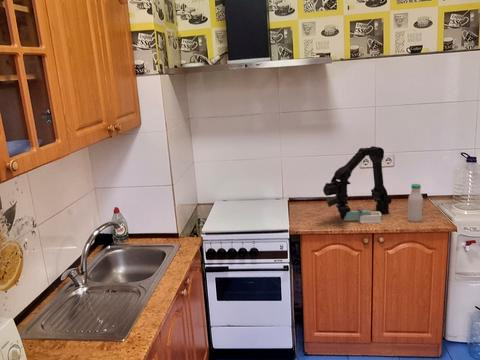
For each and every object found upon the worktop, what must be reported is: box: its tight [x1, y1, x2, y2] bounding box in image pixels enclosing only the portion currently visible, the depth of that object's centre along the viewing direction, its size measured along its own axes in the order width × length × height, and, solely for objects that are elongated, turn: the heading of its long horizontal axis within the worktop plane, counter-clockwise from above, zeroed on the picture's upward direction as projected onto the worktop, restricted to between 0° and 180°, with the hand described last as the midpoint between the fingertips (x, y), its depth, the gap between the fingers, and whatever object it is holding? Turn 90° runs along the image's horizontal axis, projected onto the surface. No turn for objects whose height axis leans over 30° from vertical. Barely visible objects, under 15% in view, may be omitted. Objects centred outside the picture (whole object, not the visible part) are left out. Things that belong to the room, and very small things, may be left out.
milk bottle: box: [407, 183, 424, 223], centre depth 230 cm, size 8×8×20 cm
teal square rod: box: [343, 209, 372, 221], centre depth 235 cm, size 16×2×4 cm, turn 85°
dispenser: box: [357, 206, 384, 224], centre depth 235 cm, size 12×8×7 cm
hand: (342, 219), depth 237 cm, fingers closed on teal square rod, 2 cm apart
